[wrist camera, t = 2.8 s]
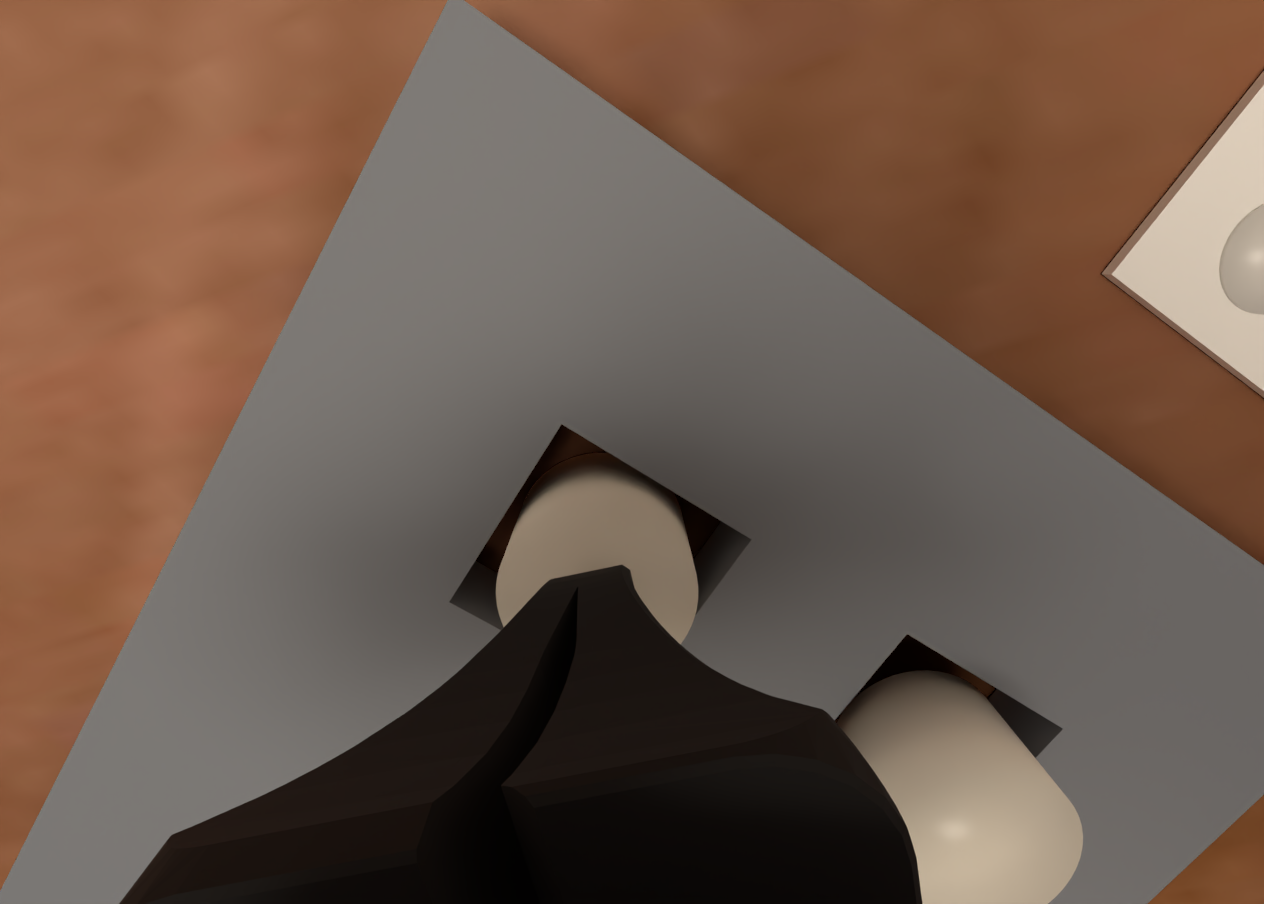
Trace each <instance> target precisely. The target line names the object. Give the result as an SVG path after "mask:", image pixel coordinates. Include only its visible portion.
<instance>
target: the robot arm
mask: <svg viewBox="0 0 1264 904" xmlns="http://www.w3.org/2000/svg"><path fill="white" fill-rule="evenodd" d="M119 904H922V896H921V888H920V881H919V873H918V865H917V858H916V854H915V851H914V847H913V844H912V841H911V837H910V834H909V831H908V828H907V826H906V824H905V822H904V820H903V818H902V816H901V814H900V812H899V810H898V808H897V806H896V804H895V803H894V801H893V800H892V798H891V796H890V795H889V793H888V792H887V790H886V788H885V787H884V785H883V784H882V782H881V781H880V779H879V778H878V776H877V775H876V774H875V772H874V771H873V769H872V768H871V766H870V765H869V764H868V762H867V761H866V760H865V758H864V757H863V756H862V754H861V753H860V751H859V750H858V749H857V747H856V746H855V745H854V744H853V742H852V741H851V740H850V739H849V737H848V736H847V735H846V734H845V733H844V731H843V730H842V729H841V728H840V727H839V725H838V724H837V723H836V722H835V721H834V719H833V718H832V717H831V716H830V715H829V714H828V713H827V712H826V711H824V710H823V709H820V708H816V707H812V706H808V705H804V704H800V703H797V702H793V701H789V700H785V699H781V698H777V697H773V696H770V695H767V694H765V693H762V692H760V691H757V690H755V689H752V688H750V687H747V686H745V685H742V684H740V683H738V682H736V681H734V680H731V679H730V678H728V677H726V676H724V675H722V674H721V673H719V672H717V671H715V670H714V669H712V668H710V667H709V666H707V665H706V664H705V663H703V662H702V661H700V660H699V659H698V658H696V657H695V656H694V655H693V654H691V653H690V652H689V651H688V650H686V649H685V648H684V647H683V646H682V645H681V644H679V643H678V642H677V641H676V640H675V639H674V638H673V637H672V636H671V635H670V634H669V633H668V632H667V631H666V630H665V629H664V628H663V626H662V625H661V624H660V623H659V622H658V621H657V620H656V618H655V617H654V616H653V615H652V613H651V612H650V611H649V609H648V608H647V607H646V605H645V604H644V603H643V601H642V600H641V598H640V597H639V595H638V593H637V592H636V590H635V588H634V584H633V579H632V575H631V571H630V569H628V568H627V567H625V566H624V565H617V566H613V567H608V568H603V569H598V570H593V571H588V572H583V573H578V574H574V575H569V576H564V577H559V578H554V579H550V580H549V581H548V582H546V583H545V584H544V585H543V586H542V587H541V588H540V589H539V590H538V591H537V592H536V593H535V594H534V596H533V597H532V598H531V599H530V600H529V601H528V602H527V603H526V604H525V605H524V606H523V608H522V609H521V610H520V611H519V612H518V613H517V614H516V615H515V616H514V617H513V618H512V619H511V620H510V621H509V622H508V624H507V625H506V626H505V627H504V628H503V629H502V630H501V631H500V632H499V633H498V634H497V635H496V636H495V637H494V638H493V639H492V640H491V641H490V642H489V643H488V644H487V645H486V646H485V647H484V648H483V649H481V650H480V651H479V652H478V653H477V654H476V655H475V656H474V657H473V658H472V659H471V660H470V661H469V662H468V663H467V664H466V665H465V666H464V667H463V668H462V669H460V670H459V671H458V672H457V673H456V674H455V675H454V676H452V677H451V678H450V679H449V680H448V681H446V682H445V683H444V684H443V685H442V686H440V687H439V688H438V689H437V690H435V691H434V692H433V693H431V694H430V695H429V696H427V697H426V698H425V699H424V700H422V701H421V702H420V703H418V704H417V705H416V706H414V707H413V708H412V709H410V710H409V711H408V712H406V713H405V714H403V715H402V716H400V717H399V718H397V719H396V720H394V721H392V722H391V723H389V724H388V725H386V726H385V727H383V728H382V729H380V730H379V731H377V732H376V733H374V734H372V735H371V736H369V737H368V738H366V739H365V740H363V741H362V742H360V743H359V744H357V745H356V746H354V747H352V748H351V749H349V750H347V751H346V752H344V753H342V754H340V755H339V756H337V757H335V758H333V759H331V760H330V761H328V762H326V763H324V764H323V765H321V766H319V767H317V768H315V769H313V770H311V771H310V772H308V773H306V774H304V775H302V776H300V777H298V778H296V779H294V780H292V781H290V782H288V783H287V784H285V785H283V786H281V787H278V788H276V789H274V790H272V791H270V792H268V793H266V794H264V795H262V796H260V797H258V798H255V799H253V800H251V801H249V802H246V803H244V804H242V805H240V806H237V807H235V808H233V809H231V810H228V811H226V812H224V813H221V814H219V815H217V816H215V817H212V818H210V819H208V820H206V821H203V822H201V823H199V824H197V825H194V826H192V827H190V828H187V829H185V830H182V831H180V832H177V833H175V834H172V835H171V836H170V837H169V839H168V840H167V841H166V843H165V844H164V845H163V846H162V848H161V849H160V850H159V852H158V853H157V854H156V856H155V857H154V858H153V860H152V861H151V862H150V864H149V865H148V866H147V868H146V869H145V870H144V872H143V873H142V874H141V875H140V877H139V878H138V879H137V881H136V882H135V883H134V885H133V886H132V887H131V889H130V890H129V891H128V893H127V894H126V895H125V897H124V898H123V899H122V901H121V902H120V903H119Z"/></svg>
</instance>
